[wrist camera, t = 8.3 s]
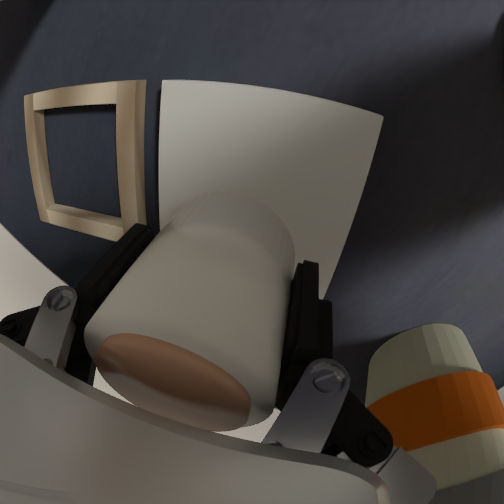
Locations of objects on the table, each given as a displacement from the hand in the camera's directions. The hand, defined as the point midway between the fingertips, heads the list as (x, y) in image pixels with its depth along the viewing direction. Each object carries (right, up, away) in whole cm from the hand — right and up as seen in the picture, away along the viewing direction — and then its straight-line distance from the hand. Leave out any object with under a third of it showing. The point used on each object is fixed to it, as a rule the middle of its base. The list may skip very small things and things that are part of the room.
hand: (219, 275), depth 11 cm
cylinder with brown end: (0, 0, +2) cm, 2 cm away
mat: (+1, +3, +4) cm, 5 cm away
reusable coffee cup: (+15, -8, +9) cm, 19 cm away
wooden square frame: (-10, +7, +4) cm, 13 cm away
